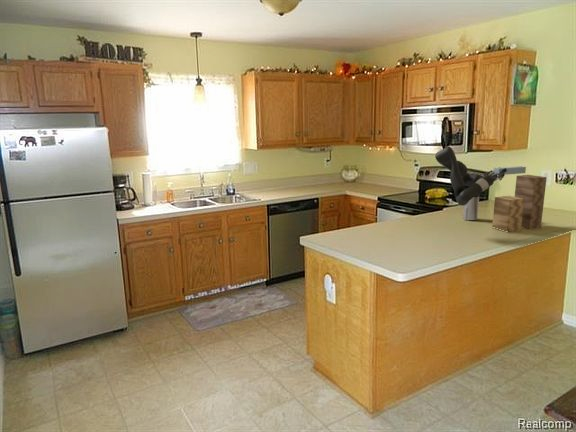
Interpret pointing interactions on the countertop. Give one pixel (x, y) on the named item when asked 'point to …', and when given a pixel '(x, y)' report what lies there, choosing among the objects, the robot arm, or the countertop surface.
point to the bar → (511, 170)
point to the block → (508, 213)
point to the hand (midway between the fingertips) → (503, 168)
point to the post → (531, 199)
